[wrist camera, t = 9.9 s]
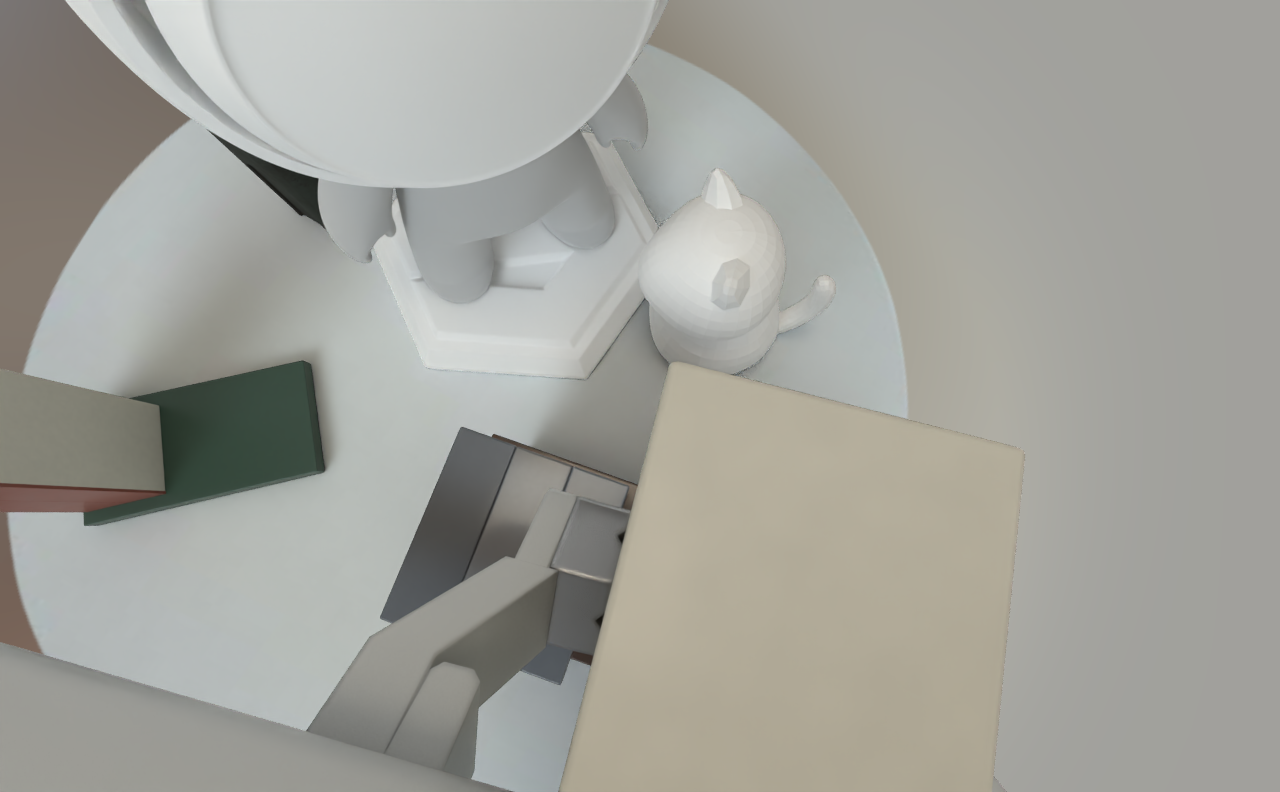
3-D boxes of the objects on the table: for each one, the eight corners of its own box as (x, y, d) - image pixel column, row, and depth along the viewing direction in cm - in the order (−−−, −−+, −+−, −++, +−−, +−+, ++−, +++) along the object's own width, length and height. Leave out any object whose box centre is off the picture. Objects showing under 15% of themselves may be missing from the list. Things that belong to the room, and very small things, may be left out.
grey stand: (716, 668, 36) (788, 786, 20) (475, 580, 37) (366, 630, 21) (755, 534, 38) (848, 550, 22) (525, 453, 39) (459, 412, 23)
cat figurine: (630, 275, 42) (635, 145, 27) (792, 268, 42) (883, 138, 28) (637, 390, 40) (646, 317, 25) (807, 381, 40) (912, 306, 26)
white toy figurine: (458, 440, 39) (-808, -125, 4) (344, 176, 43) (-789, -1197, 8) (707, 323, 41) (1136, -627, 7) (577, 83, 45) (436, -1274, 11)
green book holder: (325, 472, 38) (137, 446, 23) (97, 525, 37) (-252, 534, 22) (311, 363, 39) (126, 275, 25) (92, 411, 38) (-237, 348, 24)
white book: (669, 715, 16) (893, 1839, 2) (586, 692, 16) (340, 1640, 2) (716, 507, 17) (1031, 447, 4) (639, 487, 17) (670, 357, 4)
